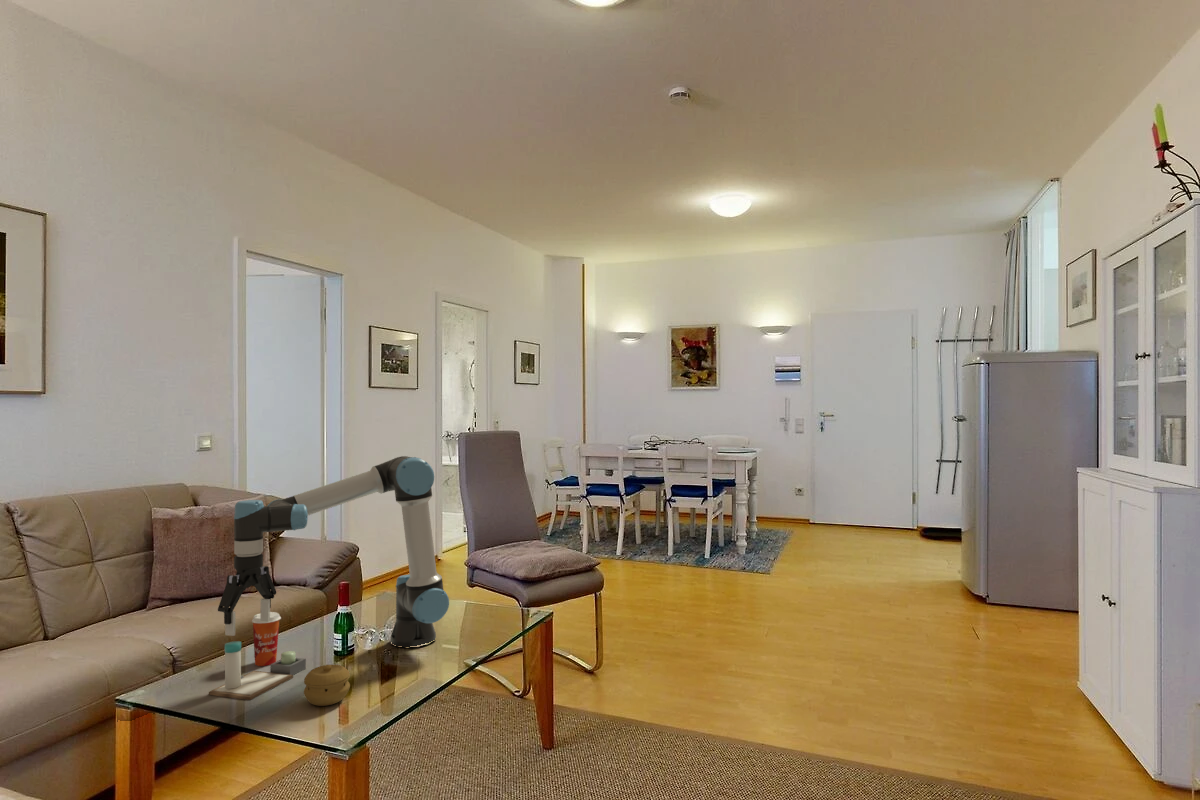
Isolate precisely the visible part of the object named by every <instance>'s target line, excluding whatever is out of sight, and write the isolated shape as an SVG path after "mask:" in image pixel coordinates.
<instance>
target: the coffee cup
mask: <svg viewBox="0 0 1200 800" xmlns="http://www.w3.org/2000/svg"><path fill="white" fill-rule="evenodd" d="M280 620H282V617H281V615H280V613H279V612H276V611H270V621H269V622H266V621H260V613H257V614H255V615H253V617H252V619H251V623H252V631H253V633H252V634H253V648H254V649H253V651H254V652H253V653H254V654H253V655H254V664H255V666H257V667H267V666H270V664H272V663H274V662H277V656H278V641H279V627H280Z"/></svg>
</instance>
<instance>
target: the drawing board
mask: <svg viewBox="0 0 1200 800" xmlns="http://www.w3.org/2000/svg"><path fill="white" fill-rule="evenodd" d="M293 678H294V675H288V674H279V673H271V672H269V671H259V670H252V671H250V672H248V673H246V674H244V675H241V686H239V687H237V688H233V689H226V688H225V683H224V684H222V685H220V686H218V687H216V688H214V689H211V690H210V691H208V695H209V696H217V697H224V698H231V699H239V700H247V701H251V700H254V699H256V698H257V697H259V696H261V695H263V694H265V693H267V692H269V691H271V690H272V689H275V688H277V687H278V686H280V685H281V684H284V683H286V682H287V681H289V680H292V679H293Z"/></svg>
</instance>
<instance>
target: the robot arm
mask: <svg viewBox="0 0 1200 800" xmlns="http://www.w3.org/2000/svg"><path fill="white" fill-rule="evenodd" d="M433 469H434V468H432V466H431V464H430V463H428V462H427V461H425V460H424V459H422V458H420V457H416V456H414V457H413V456H408V455H407V456H406V455H404V456H403V455H401V456H398V457H394V458H392V459H389V460H387V461H385V462H382V463H379V464H377V465H374V466H372V467H371V468H370V470H368V471H366V472H361V473H359V474H355V475H352V476H350V477H347V478H345V479H340V480H338V481H334V482H332V483H329V484H325V485H322V486H319V487H316V488H314V489H310V490H307V491H304V492H300V493H298V494H295V495H292V496H289V497H286V498H283V499H275V500H272V501H270V502H269V503H268V504H267V505H266V506H265V505H264V502H263V501H264V500H261V499H248V500H247V499H246V500H240V501H238V502H236V503H235V504H234V516H233V525H234V526H233V532H234V535H233V537H234V539H233V541H234V543H233V544H234V545H233V546H234V548H233V551H234V553H233V554H234V555H235V556H234V557H233V568H234V570H235V571H236V574H235V575H227V577H226V585H225V587H224V590H223V593H222V596H221V599H220V602H219V604H218V608H217V612H219V613H220V612H221V613H223V618H224V619H223V623H224V625H225V626H224V631H225V632H224V633H225V634H224V635H225V636H232V637H233V636H236V611H234V609H235V607H236V605H237V604H238V603H239V600H240V598H241V597H242V594H243V593H244V592H245V591H246V590H247V588H250V587H255V589H256V590H257V592H258V593H259V595H261V597H262V598H260V613H259V614H260V621H266V622H269V621H270V612H271V608H272V604H271V603H272V599H274V598H275V595H276V594H277V589H276V587H275V584H274V582H273V579H272V577H271V574H270V568H269V565H268V566H267V565H264V554H263V552H264V533H269V532H280V531H281V532H283V531H296V530H302V529H305V528H306V527H307V525H308V520H309V519H308V518H309V516H310V515H311V516H312V515H313V514H317V513H319V512H322V511H325V510H328V509H331V508H334V507H337V506H339V505H343V504H346V503H349V502H352V501H355V500H357V499H360V498H364V497H367V496H369V495H373V494H375V493H378V494H380V495H381V494H385V493H387V492H393V491H394V495H395V496H394V497H395V502H396V503H397V504H399V505H400V506H401V513H402V514H401V515H402V521H403V530H404V537H405V545H406V554H407V561H408V562H407V564H408V570H409V573H408V574H404V575H400V576H398V577H397V578H396V585H395V611H396V612H395V622H394V624H393V628H392V631H391V634H390V643H391V642H392V644H394V645H396V646H402V647H410V646H417V645H421V644H425V643H429V642H431V641H433V640H435V638H436V639H437V633H436V631H435V630H436V629H435V627H434V623H436V622H438V621H440V620H441V619H443V617H444V616H445V614H446V615H447V612H448V610H449V607H450V599H449V596H448V593H447V592H446V591H445V590H444V584H443V576H442V575H441V574H439V573H438V571H437V565H436V556H435V548H434V539H433V538H434V537H433V531H432V530H433V529H432V521H431V514H430V504H429V501H430V500H431V499H432V497H433V490H432V486H433V485H434V482H435V472H434V470H433ZM435 641H436V640H435Z"/></svg>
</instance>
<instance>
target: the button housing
mask: <svg viewBox="0 0 1200 800" xmlns="http://www.w3.org/2000/svg"><path fill="white" fill-rule="evenodd" d="M306 665H307V659H306V658H303V657H296V660H295V663H293V664H290V665H285V664H281V659H279V660H276V662H274V663H272V664H270V665H269V666H270V668H269V669H270V670H269V671H270V672H271V673H279V674H288V675H293V676H294V675H296V674H297V673H298V674H299V673H300V672H302V671H304V670H306V667H307V666H306Z"/></svg>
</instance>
